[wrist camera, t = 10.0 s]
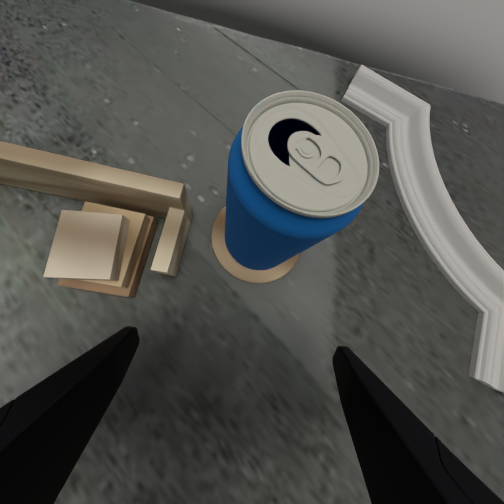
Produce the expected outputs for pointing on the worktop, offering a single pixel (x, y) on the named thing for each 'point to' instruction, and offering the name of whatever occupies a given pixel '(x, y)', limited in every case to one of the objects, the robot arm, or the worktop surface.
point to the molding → (436, 214)
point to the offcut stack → (101, 249)
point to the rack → (105, 193)
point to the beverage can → (295, 177)
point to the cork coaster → (237, 268)
